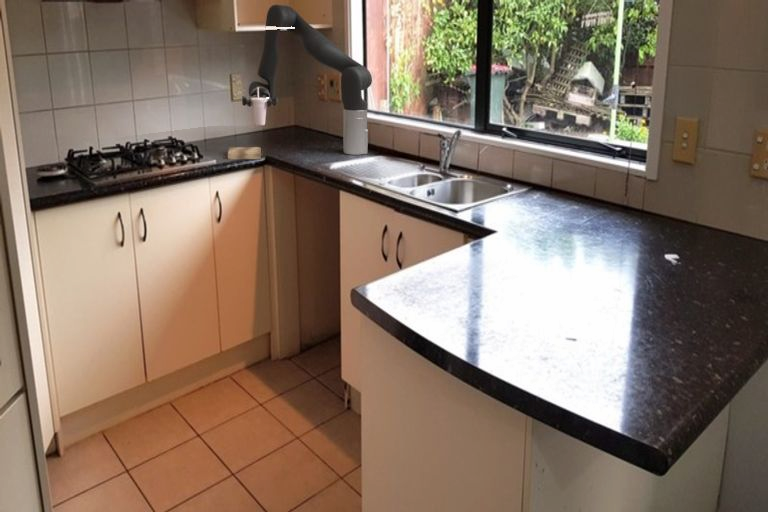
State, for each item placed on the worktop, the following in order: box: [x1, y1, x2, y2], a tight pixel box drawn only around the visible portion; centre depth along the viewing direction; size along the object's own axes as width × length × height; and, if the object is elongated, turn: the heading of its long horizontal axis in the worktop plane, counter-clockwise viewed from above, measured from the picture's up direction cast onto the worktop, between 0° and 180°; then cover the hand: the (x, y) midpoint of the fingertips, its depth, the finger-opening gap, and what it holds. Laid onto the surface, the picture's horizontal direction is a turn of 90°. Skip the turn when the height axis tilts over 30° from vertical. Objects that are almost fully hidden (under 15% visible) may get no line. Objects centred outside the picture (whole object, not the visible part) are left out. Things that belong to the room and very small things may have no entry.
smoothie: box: [251, 87, 268, 126], centre depth 269 cm, size 6×6×14 cm
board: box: [227, 146, 262, 160], centre depth 273 cm, size 12×12×2 cm
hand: (259, 104), depth 266 cm, fingers closed on smoothie, 6 cm apart
